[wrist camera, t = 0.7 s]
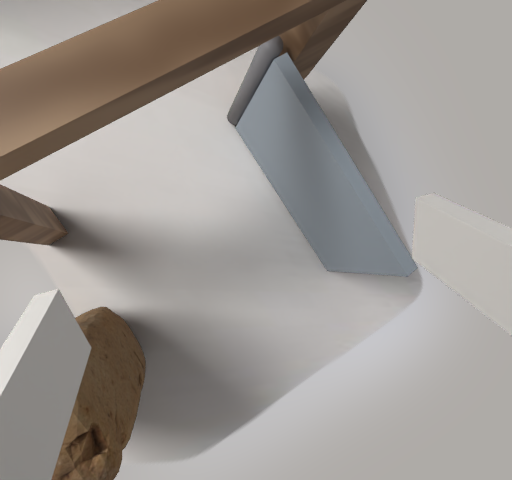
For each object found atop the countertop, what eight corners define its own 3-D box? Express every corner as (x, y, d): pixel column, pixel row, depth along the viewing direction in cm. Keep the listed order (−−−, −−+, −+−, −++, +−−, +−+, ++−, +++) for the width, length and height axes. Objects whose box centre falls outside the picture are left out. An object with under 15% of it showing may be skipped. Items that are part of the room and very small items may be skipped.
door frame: (28, 218, 31) (-191, 151, 12) (268, 83, 38) (377, -95, 19) (48, 245, 31) (-133, 223, 12) (282, 106, 38) (403, -46, 19)
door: (224, 114, 36) (257, 37, 23) (249, 100, 37) (294, 19, 24) (325, 271, 38) (405, 278, 26) (347, 254, 39) (434, 253, 27)
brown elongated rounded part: (117, 294, 33) (54, 344, 13) (154, 359, 33) (146, 497, 14) (1, 356, 30) (-291, 534, 10) (45, 426, 30) (-157, 716, 11)
